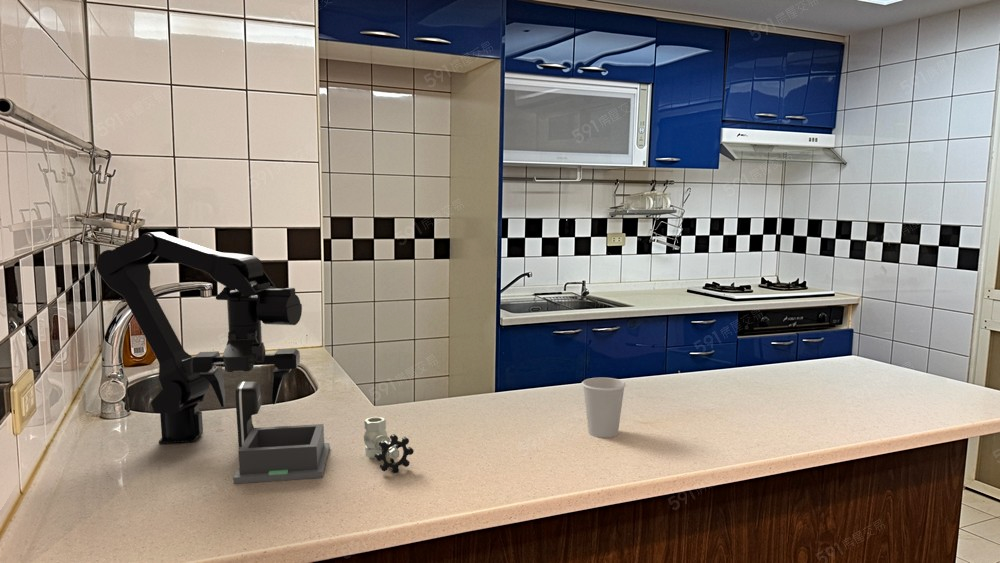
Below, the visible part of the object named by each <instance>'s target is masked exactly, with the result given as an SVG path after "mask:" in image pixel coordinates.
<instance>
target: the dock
mask: <svg viewBox="0 0 1000 563" xmlns="http://www.w3.org/2000/svg"><path fill="white" fill-rule="evenodd" d="M324 426H325V425H324V423H316V424H299V425H298V424H297V425H281V426H264V427H254V428H252V430H251V432H250V433H249V435H248V437H247V438H246V440H245V441H244V443H243V445H242V446H241V447H239V450H238V468H237V471H236V472H235V474H234V476H233V477H232V479H233V484H245V483H246V484H248V483H261V482H262V483H264V482H278V481H291V480H304V479H306V480H310V479H321V478H322V479H323V476H324V472H325V468H326V464H327V460H328V456H329V452H330V442H325V430H324V428H325V427H324Z"/></svg>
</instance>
